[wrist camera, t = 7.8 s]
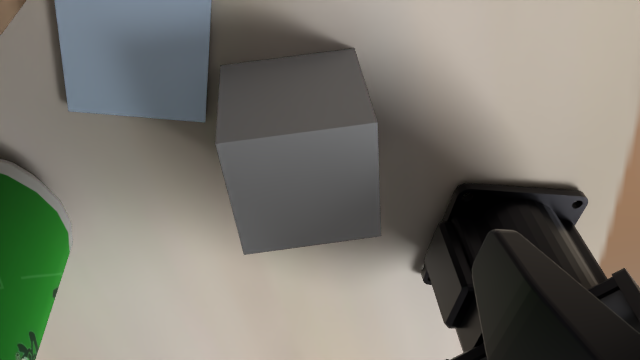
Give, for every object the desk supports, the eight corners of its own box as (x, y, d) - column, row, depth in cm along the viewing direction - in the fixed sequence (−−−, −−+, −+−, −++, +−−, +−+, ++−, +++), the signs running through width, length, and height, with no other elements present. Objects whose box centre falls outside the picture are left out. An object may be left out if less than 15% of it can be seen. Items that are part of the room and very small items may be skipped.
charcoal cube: (354, 47, 21) (377, 122, 18) (360, 153, 25) (380, 236, 21) (220, 64, 21) (215, 143, 18) (244, 168, 25) (244, 254, 21)
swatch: (212, -7, 20) (211, -2, 19) (205, 116, 23) (205, 122, 22) (54, -26, 19) (51, -22, 18) (70, 105, 22) (68, 111, 21)
